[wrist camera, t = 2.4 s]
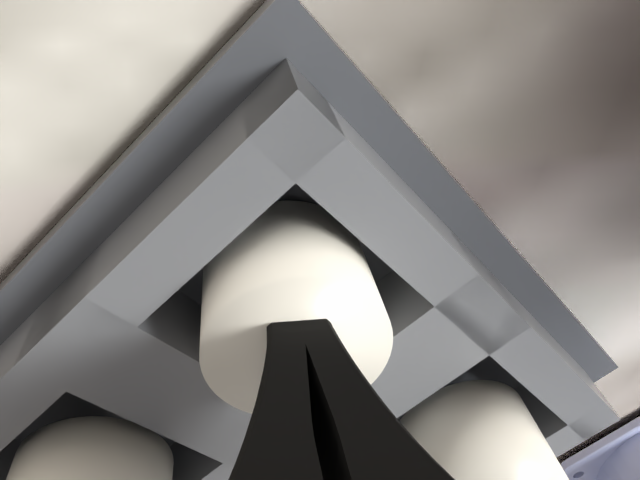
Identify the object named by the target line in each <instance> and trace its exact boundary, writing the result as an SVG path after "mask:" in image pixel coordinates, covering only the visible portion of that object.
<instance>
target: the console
mask: <svg viewBox="0 0 640 480" xmlns="http://www.w3.org/2000/svg"><path fill="white" fill-rule="evenodd" d="M285 200H288V201H303V202H309V203H312V204H316V205H319V206H322V207H323V208H324V209H325V210H326V211H327V212H329V213H330V214H331V215H332V216H333V217H334V218H335V219H336V220H338V221H339V222H340V223H341V224H342V225H343V226H344V227H345V228H347V229H348V230H349V231H350V232H351V233H352V234H353V235H354V236H356V237H357V238H358V240H359V243H360V245H361V248H362V250H363V253H364V255H365V258H366V260H367V263H368V266H369V268H370V271H371V273H372V276H373V278H374V281H375V283H376V286H377V289H378V291H379V294H380V296H381V299H382V301H383V304H384V306H385V309H386V312H387V314H388V317H389V319H390V322H391V326H392V330H393V347H392V351H391V355H390V357H389V360H388V362H387V364H386V366H385V368H384V369H383V371H382V373H381V374H380V375H379V376H378V378H377V379H376V380H375V381H374V382H373V383H372V384H371V386H372V387H373V389H374V390H375V391H376V393H377V394H378V395H379V397H380V398H381V399H382V401H383V402H384V403H385V404H386V406H387V407H388V408H389V409H390V411H391V412H392V413H393V414H394V415H395V417H396V418H397V419H398V420H399V421H400V419H401V418H402V416H403V415H404V414H405V413H406V412H407V411H409V410H410V409H412V408H413V407H414V406H416V405H417V404H419V403H420V402H422V401H423V400H425V399H426V398H428V397H429V396H431V395H432V394H434V393H435V392H436V391H438V390H439V389H441V388H443V387H446V386H449V385H452V384H455V383H460V382H464V381H472V380H491V381H497V382H500V383H503V384H506V385H508V386H510V387H511V388H513V389H514V390H515V391H516V392H517V393H518V394H519V395H520V397H521V399H522V400H523V402H524V404H525V405H526V407H527V409H528V411H529V412H530V414H531V416H532V417H533V419H534V421H535V422H536V424H537V426H538V428H539V429H540V431H541V433H542V434H543V436H544V438H545V439H546V441H547V443H548V445H549V446H550V448H551V450H552V451H553V453H554V455H555V456H556V458H557V457H558V456H560V455H562V454H564V453H565V452H567V451H569V450H570V449H572V448H574V447H575V446H577V445H579V444H580V443H582V442H584V441H585V440H587V439H589V438H591V437H592V436H594V435H596V434H597V433H599V432H601V431H602V430H604V429H606V428H607V427H609V426H611V425H612V424H614V423H616V422H618V421H619V420H621V418H620V417H619V416H618V414H617V413H616V412H615V410H614V409H613V408H612V406H611V405H610V404H609V403H608V401H607V400H606V399H605V397H604V396H603V395H602V393H601V392H600V391H599V389H598V388H597V387H596V385H595V384H594V382H596V381H597V380H599V379H600V378H602V377H604V376H605V375H607V374H608V373H610V372H612V371H613V370H615V369H616V368H618V366H617V365H616V364H615V363H614V361H613V360H612V359H611V358H610V357H609V355H608V354H607V353H606V352H605V351H604V349H603V348H602V347H601V346H600V345H599V344H598V343H597V341H596V340H595V339H594V338H593V337H592V336H591V335H590V333H589V332H588V331H587V330H586V329H585V328H584V327H583V325H582V324H581V323H580V322H579V321H578V320H577V319H576V317H575V316H574V315H573V314H572V313H571V312H570V310H569V309H568V308H567V307H566V306H565V305H564V304H563V302H562V301H561V300H560V299H559V298H558V297H557V296H556V294H555V293H554V292H553V291H552V290H551V289H550V288H549V286H548V285H547V284H546V283H545V282H544V281H543V280H542V278H541V277H540V276H539V275H538V274H537V273H536V271H535V270H534V269H533V268H532V267H531V266H530V265H529V263H528V262H527V261H526V260H525V259H524V258H523V257H522V255H521V254H520V253H519V252H518V251H517V250H516V249H515V247H514V246H513V245H512V244H511V243H510V242H509V241H508V239H507V238H506V237H505V236H504V235H503V234H502V232H501V231H500V230H499V229H498V228H497V227H496V226H495V224H494V223H493V222H492V221H491V220H490V219H489V218H488V216H487V215H486V214H485V213H484V212H483V211H482V210H481V208H480V207H479V206H478V205H477V204H476V203H475V202H474V200H473V199H472V198H471V197H470V196H469V195H468V194H467V192H466V191H465V190H464V189H463V188H462V187H461V185H460V184H459V183H458V182H457V181H456V180H455V179H454V177H453V176H452V175H451V174H450V173H449V172H448V171H447V169H446V168H445V167H444V166H443V165H442V164H441V163H440V161H439V160H438V159H437V158H436V157H435V156H434V155H433V153H432V152H431V151H430V150H429V149H428V148H427V146H426V145H425V144H424V143H423V142H422V141H421V140H420V138H419V137H418V136H417V135H416V134H415V133H414V132H413V130H412V129H411V128H410V127H409V126H408V125H407V124H406V122H405V121H404V120H403V119H402V118H401V117H400V116H399V114H398V113H397V112H396V111H395V110H394V109H393V107H392V106H391V105H390V104H389V103H388V102H387V101H386V99H385V98H384V97H383V96H382V95H381V94H380V93H379V91H378V90H377V89H376V88H375V87H374V86H373V85H372V83H371V82H370V81H369V80H368V79H367V78H366V77H365V75H364V74H363V73H362V72H361V71H360V70H359V69H358V67H357V66H356V65H355V64H354V63H353V62H352V60H351V59H350V58H349V57H348V56H347V55H346V54H345V52H344V51H343V50H342V49H341V48H340V47H339V46H338V44H337V43H336V42H335V41H334V40H333V39H332V38H331V36H330V35H329V34H328V33H327V32H326V31H325V30H324V28H323V27H322V26H321V25H320V24H319V23H318V21H317V20H316V19H315V18H314V17H313V16H312V15H311V13H310V12H309V11H308V10H307V9H306V8H305V7H304V5H303V4H302V3H301V2H300V1H299V0H266V1H265V2H264V3H263V4H262V5H261V6H260V7H259V8H258V9H257V10H256V12H255V13H254V14H253V15H252V16H251V17H250V18H249V19H248V20H247V21H246V22H245V23H244V24H243V25H242V26H241V28H240V29H239V30H238V31H237V32H236V33H235V34H234V35H233V36H232V37H231V38H230V39H229V40H228V41H227V42H226V44H225V45H224V46H223V47H222V48H221V49H220V50H219V51H218V52H217V53H216V54H215V55H214V56H213V57H212V58H211V60H210V61H209V62H208V63H207V64H206V65H205V66H204V67H203V68H202V69H201V70H200V71H199V72H198V73H197V74H196V76H195V77H194V78H193V79H192V80H191V81H190V82H189V83H188V84H187V85H186V86H185V87H184V88H183V89H182V90H181V92H180V93H179V94H178V95H177V96H176V97H175V98H174V99H173V100H172V101H171V102H170V103H169V104H168V105H167V106H166V108H165V109H164V110H163V111H162V112H161V113H160V114H159V115H158V116H157V117H156V118H155V119H154V120H153V121H152V122H151V123H150V125H149V126H148V127H147V128H146V129H145V130H144V131H143V132H142V133H141V134H140V135H139V136H138V137H137V138H136V139H135V141H134V142H133V143H132V144H131V145H130V146H129V147H128V148H127V149H126V150H125V151H124V152H123V153H122V154H121V155H120V157H119V158H118V159H117V160H116V161H115V162H114V163H113V164H112V165H111V166H110V167H109V168H108V169H107V170H106V171H105V173H104V174H103V175H102V176H101V177H100V178H99V179H98V180H97V181H96V182H95V183H94V184H93V185H92V186H91V187H90V189H89V190H88V191H87V192H86V193H85V194H84V195H83V196H82V197H81V198H80V199H79V200H78V201H77V202H76V203H75V205H74V206H73V207H72V208H71V209H70V210H69V211H68V212H67V213H66V214H65V215H64V216H63V217H62V218H61V219H60V220H59V222H58V223H57V224H56V225H55V226H54V227H53V228H52V229H51V230H50V231H49V232H48V233H47V234H46V235H45V236H44V238H43V239H42V240H41V241H40V242H39V243H38V244H37V245H36V246H35V247H34V248H33V249H32V250H31V251H30V252H29V254H28V255H27V256H26V257H25V258H24V259H23V260H22V261H21V262H20V263H19V264H18V265H17V266H16V267H15V268H14V270H13V271H12V272H11V273H10V274H9V275H8V276H7V277H6V278H5V279H4V280H3V281H2V282H1V283H0V480H6V478H7V475H8V472H9V470H10V467H11V464H12V461H13V459H14V456H15V453H16V451H17V449H18V447H19V445H20V444H21V443H22V442H23V441H24V440H25V438H26V437H28V436H29V435H30V434H32V433H33V432H35V431H36V430H38V429H40V428H42V427H44V426H46V425H48V424H51V423H54V422H57V421H60V420H65V419H69V418H76V417H86V416H104V417H113V418H119V419H124V420H128V421H132V422H134V423H136V424H138V425H140V426H143V427H145V428H147V429H149V430H151V431H153V432H155V433H157V434H158V435H159V436H161V437H162V438H163V439H164V440H165V441H166V443H167V444H168V445H169V447H170V449H171V451H172V454H173V459H174V465H173V478H172V480H229V477H230V475H231V472H232V470H233V467H234V465H235V462H236V460H237V457H238V454H239V452H240V449H241V446H242V443H243V440H244V438H245V435H246V432H247V428H248V425H249V422H250V419H251V416H252V414H250V413H247V412H244V411H241V410H239V409H237V408H235V407H233V406H231V405H229V404H228V403H226V402H225V401H223V400H222V399H221V398H219V397H218V396H217V395H216V394H215V393H214V392H213V391H212V390H211V388H210V387H209V386H208V384H207V383H206V381H205V379H204V377H203V374H202V372H201V367H200V363H199V349H200V327H201V305H202V283H203V267H204V266H205V265H206V264H207V263H208V262H210V261H211V260H212V259H213V258H214V257H215V256H216V255H217V254H218V253H219V252H221V251H222V250H223V249H224V248H225V247H226V246H227V245H228V244H229V243H231V242H232V241H233V240H234V239H235V238H236V237H237V236H238V235H239V234H240V233H242V232H243V231H244V230H245V229H246V228H247V227H248V226H249V225H250V224H251V223H253V222H254V221H255V220H256V219H257V218H258V217H259V216H260V215H261V214H262V213H264V212H265V211H266V210H267V209H268V208H269V207H270V206H271V205H272V204H273V203H275V202H276V201H285Z"/></svg>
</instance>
